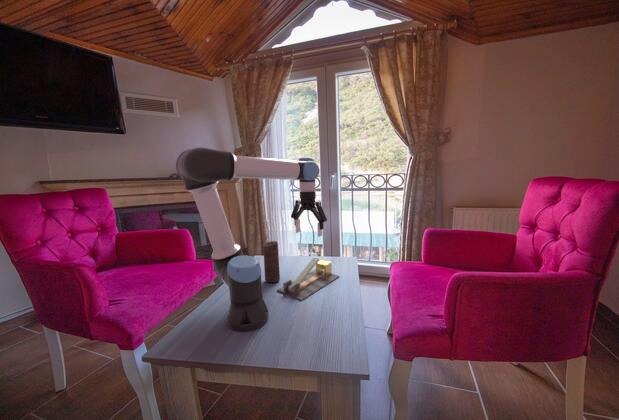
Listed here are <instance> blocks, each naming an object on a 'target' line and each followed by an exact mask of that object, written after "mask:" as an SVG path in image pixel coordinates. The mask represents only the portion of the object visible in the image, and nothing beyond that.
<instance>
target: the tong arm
mask: <svg viewBox="0 0 619 420" xmlns="http://www.w3.org/2000/svg"><path fill="white" fill-rule="evenodd" d="M318 261H320V260H319V258H317V257H312V259H311V260H310V261H309V262H308V263H307V265H305V267H304V269H303V270H302V271H301V272H300V274H299V275H297V277H296V278H295V280H293V281H294V282H293V281H292V282H293V283H292V284H291V285H290V286H288V288H287V289H288V290H289V291H292V286H293V285H295V284H297V283H301V282H302V281H303V280H304V278H305V277H306V276H307V275H308V273H310V272H312V271H313V269H314V267H316V263H317V262H318ZM311 270H312V271H311Z"/></svg>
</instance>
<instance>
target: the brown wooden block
mask: <svg viewBox="0 0 619 420" xmlns="http://www.w3.org/2000/svg"><path fill="white" fill-rule="evenodd" d="M262 247H263V249H262V250H263V260H264V261H263V266H264V280H265V282H267V283H275V282H278V281H280V279H281V278H280V277H281V273H280V262H279V261H280V259H279V243H278V241H276V240H275V241H273V240H271V241H265V242H264V243H263V245H262Z"/></svg>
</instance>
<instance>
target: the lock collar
mask: <svg viewBox="0 0 619 420" xmlns="http://www.w3.org/2000/svg"><path fill="white" fill-rule="evenodd" d="M332 267H333V266H332V262H331V261H328V260H323V259H321V260H319V261H318V262H317V263H316V265H315V269H316V274H320V273H322V272H324V277H327V276H329V275H331V274H333V271H332V270H333V269H332Z"/></svg>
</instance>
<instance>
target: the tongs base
mask: <svg viewBox="0 0 619 420" xmlns="http://www.w3.org/2000/svg"><path fill="white" fill-rule="evenodd" d="M338 277H339V278H340V275H338V274H335V273H332V274H331V275H329V276H327V277H324V272H322V273H320V274H316V268H315V269H314V270H313V269H312V271H310V272H309V273H308V275H307V276H306V277H305V278H304V280H303V281H302V282H301V283H297V284H295V285H293V286H292V291H289V290H288V289H287V288H288V286H290V285H291V284H292V283H293V282H294V281H295V280H291V279H289V280H287V281H285V282H283V286H282V287H280V288H278V289H276V291H277V292H278V293H281V294H284V295H286V296H288V297H291V298H294V299H296V300H298V301H301V302H302V301H304V300H306V299H307V298H309V297H311V296H312V295H313V294H315V293H317V292H319V290H322V289H323V288H324V287H326V286H327V285H329V284H330V283H333V282H334V281H335V280H337V279H338Z"/></svg>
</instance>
